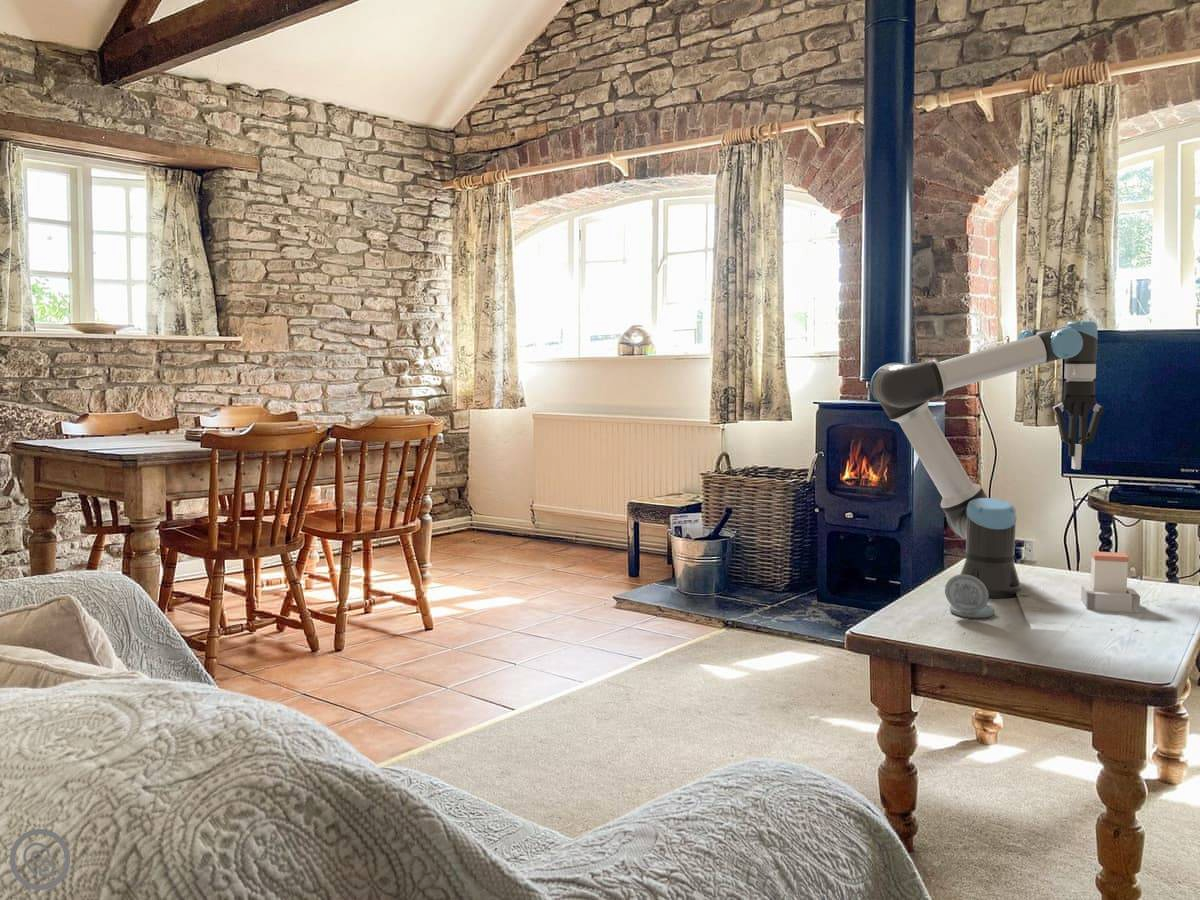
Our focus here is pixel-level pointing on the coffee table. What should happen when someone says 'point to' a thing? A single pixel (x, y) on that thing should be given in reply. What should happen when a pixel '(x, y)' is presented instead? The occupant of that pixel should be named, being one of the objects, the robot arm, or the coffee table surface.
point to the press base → (1110, 600)
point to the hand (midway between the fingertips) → (1076, 468)
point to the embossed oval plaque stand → (968, 597)
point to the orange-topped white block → (1109, 572)
